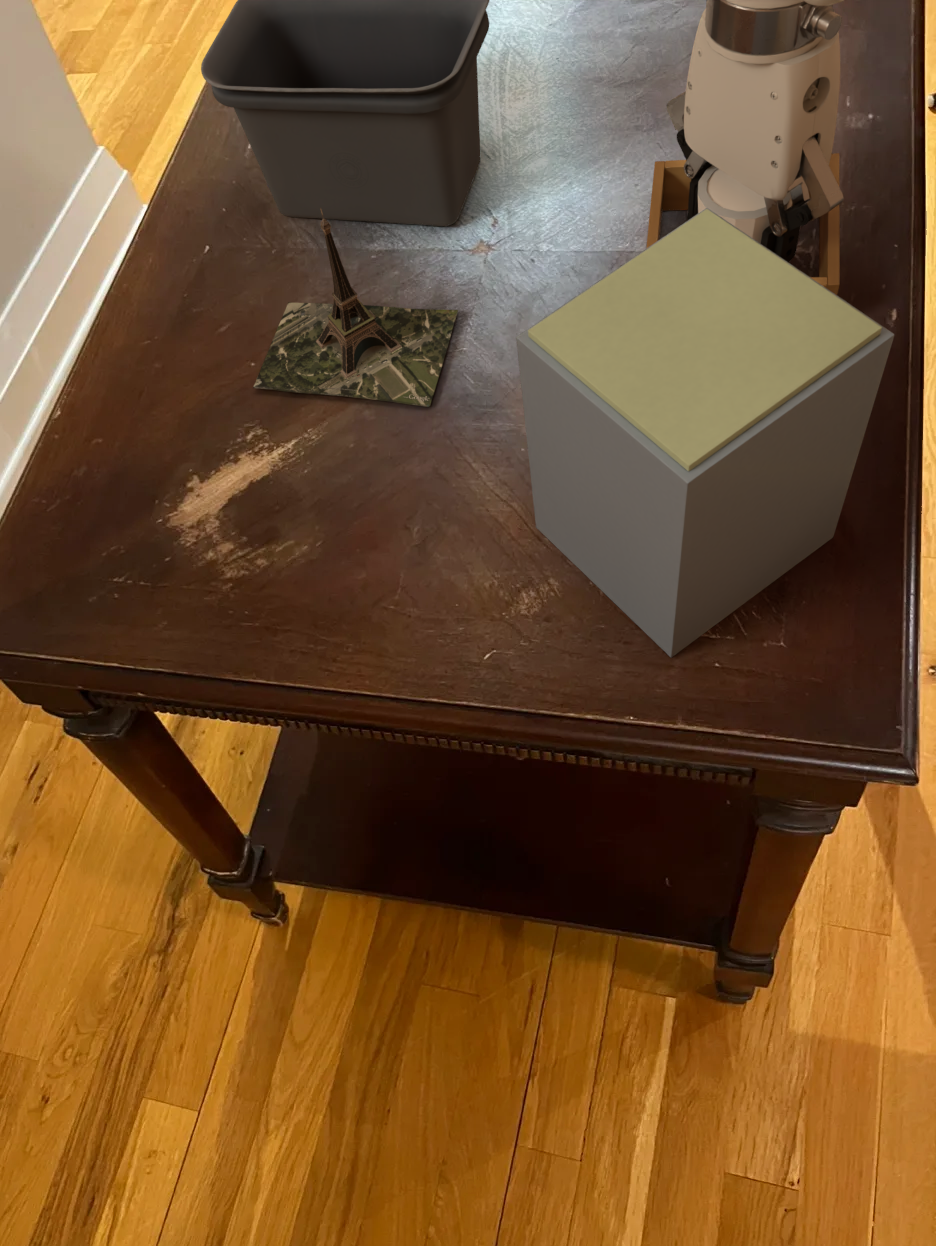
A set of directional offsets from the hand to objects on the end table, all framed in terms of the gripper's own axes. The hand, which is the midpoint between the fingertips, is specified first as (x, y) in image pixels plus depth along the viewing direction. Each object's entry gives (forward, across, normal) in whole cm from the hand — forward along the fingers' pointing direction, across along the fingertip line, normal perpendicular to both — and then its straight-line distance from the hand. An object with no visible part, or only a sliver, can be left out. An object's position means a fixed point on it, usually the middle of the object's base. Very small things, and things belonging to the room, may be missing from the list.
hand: (739, 239), depth 83 cm
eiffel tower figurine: (+2, +14, +27) cm, 31 cm away
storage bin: (+2, +29, +14) cm, 32 cm away
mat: (-16, -16, +20) cm, 30 cm away
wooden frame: (+2, 0, 0) cm, 2 cm away
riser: (+2, -16, +20) cm, 26 cm away
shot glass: (+2, 0, 0) cm, 2 cm away
